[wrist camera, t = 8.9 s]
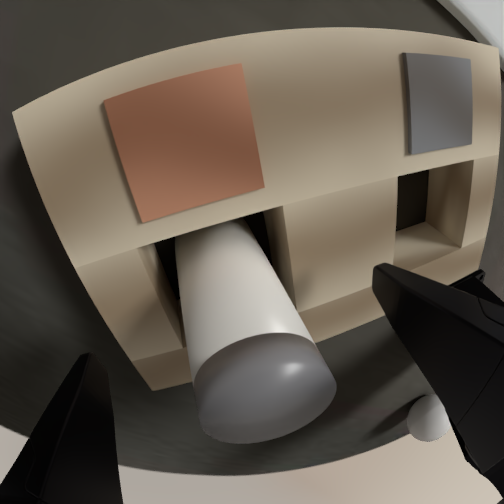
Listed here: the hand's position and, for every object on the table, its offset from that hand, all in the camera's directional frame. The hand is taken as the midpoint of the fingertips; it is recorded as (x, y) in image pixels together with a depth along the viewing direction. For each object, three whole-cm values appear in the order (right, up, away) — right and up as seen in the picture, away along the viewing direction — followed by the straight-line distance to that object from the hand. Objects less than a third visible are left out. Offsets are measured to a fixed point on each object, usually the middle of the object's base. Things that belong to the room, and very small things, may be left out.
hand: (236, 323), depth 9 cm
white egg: (+20, -15, +21) cm, 33 cm away
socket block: (+3, +5, +4) cm, 7 cm away
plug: (-1, +2, +4) cm, 5 cm away
